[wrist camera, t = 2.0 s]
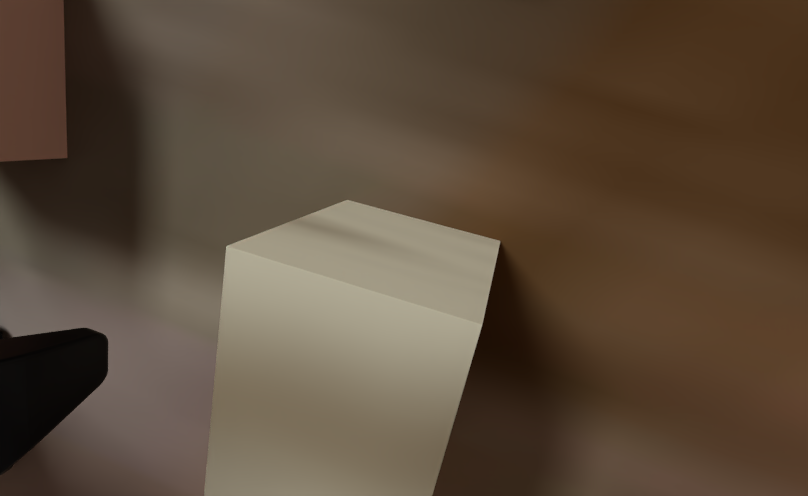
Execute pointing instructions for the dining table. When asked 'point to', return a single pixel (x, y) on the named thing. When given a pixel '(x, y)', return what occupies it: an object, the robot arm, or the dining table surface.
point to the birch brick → (344, 354)
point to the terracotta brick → (32, 80)
